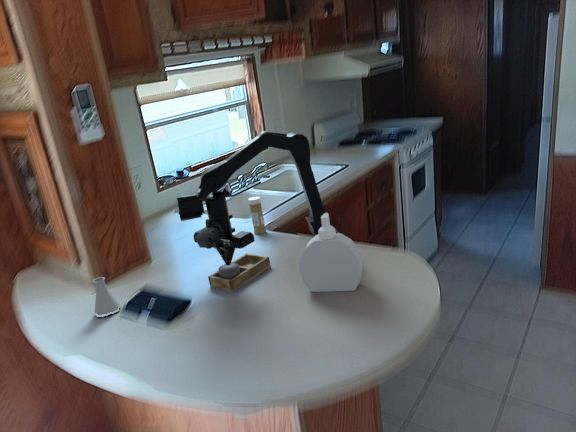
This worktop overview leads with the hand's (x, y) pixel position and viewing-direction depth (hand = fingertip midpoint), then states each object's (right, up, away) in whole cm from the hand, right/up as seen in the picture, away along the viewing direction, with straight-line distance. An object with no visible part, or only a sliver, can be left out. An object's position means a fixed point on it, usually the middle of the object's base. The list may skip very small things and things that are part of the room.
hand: (228, 264), depth 135 cm
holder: (+3, -4, +5) cm, 7 cm away
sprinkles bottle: (+7, +8, +40) cm, 42 cm away
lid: (+1, -5, +1) cm, 5 cm away
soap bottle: (+29, -5, -10) cm, 31 cm away
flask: (-33, -13, -4) cm, 36 cm away
